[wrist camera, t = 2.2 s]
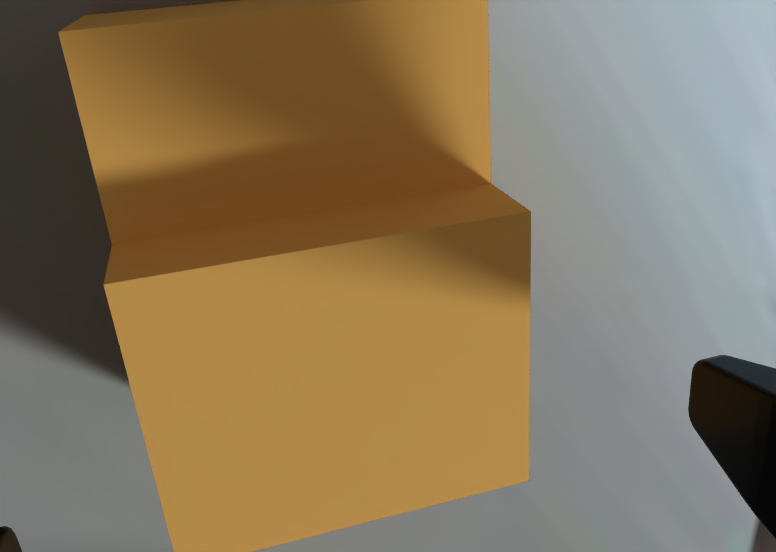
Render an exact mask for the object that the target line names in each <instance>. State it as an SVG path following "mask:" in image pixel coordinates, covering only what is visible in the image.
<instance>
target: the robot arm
mask: <svg viewBox="0 0 776 552" xmlns="http://www.w3.org/2000/svg"><path fill="white" fill-rule="evenodd" d="M688 411H689V417H690V421H691V423H692V425H693V427H694V429H695V430H696V432H697V433H698V434H699V436H700V437H701V439H702V440H703V442H704V443H705V444H706V446H707V447H708V449H709V450H710V452H711V453H712V454H713V456H714V457H715V459H716V460H717V462H718V463H719V464H720V466H721V467H722V469H723V470H724V472H725V473H726V474H727V476H728V477H729V479H730V480H731V482H732V483H733V484H734V486H735V487H736V489H737V490H738V492H739V493H740V495H741V496H742V497H743V499H744V500H745V502H746V503H747V504H748V506H749V507H750V508H751V510H752V511H753V512H754V514H755V515H756V516H757V517H758V519H759V520H760V521H761V522H762V524H763V525H764V526H765V527H766V529H767V530H768V531H769V532H770V533H771V534H772V536H773V537H774V538H775V539H776V369H775V368H772V367H768V366H764V365H761V364H757V363H753V362H749V361H746V360H742V359H738V358H734V357H731V356H727V355H719V356H715V357H711V358H706V359H702V360H699V361H698V362H696V363H695V365H694V367H693V370H692V377H691V387H690V397H689V408H688ZM0 552H22V550H21V547H20V544H19V542H18V539H17V537H16V535H15V533H14V532H13V530H12V529H11V528H9V527H6V526H3V527H0Z"/></svg>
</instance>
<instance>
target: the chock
mask: <svg viewBox="0 0 776 552" xmlns="http://www.w3.org/2000/svg"><path fill="white" fill-rule="evenodd" d="M58 33H59V37H60V41H61V45H62V49H63V53H64V57H65V61H66V65H67V69H68V73H69V77H70V81H71V85H72V89H73V93H74V97H75V101H76V105H77V108H78V112H79V116H80V120H81V124H82V128H83V132H84V136H85V140H86V144H87V148H88V152H89V156H90V160H91V164H92V168H93V172H94V176H95V180H96V184H97V188H98V192H99V196H100V200H101V203H102V207H103V211H104V215H105V219H106V223H107V227H108V231H109V235H110V239H111V243H112V246H111V251H110V256H109V261H108V265H107V270H106V275H105V280H104V284H103V285H104V289H105V292H106V296H107V300H108V304H109V308H110V311H111V315H112V319H113V323H114V326H115V330H116V334H117V338H118V342H119V345H120V349H121V353H122V357H123V360H124V364H125V368H126V372H127V376H128V379H129V383H130V387H131V391H132V395H133V398H134V402H135V406H136V410H137V413H138V417H139V421H140V425H141V429H142V432H143V436H144V440H145V444H146V447H147V451H148V455H149V459H150V463H151V466H152V470H153V474H154V478H155V482H156V485H157V489H158V493H159V497H160V500H161V504H162V508H163V512H164V516H165V519H166V523H167V527H168V531H169V534H170V538H171V542H172V546H173V550H174V552H253V551H257V550H260V549H264V548H268V547H272V546H276V545H280V544H284V543H288V542H292V541H296V540H299V539H303V538H307V537H311V536H315V535H319V534H323V533H327V532H331V531H335V530H339V529H342V528H346V527H350V526H354V525H358V524H362V523H366V522H370V521H374V520H378V519H381V518H385V517H389V516H393V515H397V514H401V513H405V512H409V511H413V510H417V509H421V508H424V507H428V506H432V505H436V504H440V503H444V502H448V501H452V500H456V499H460V498H464V497H467V496H471V495H475V494H479V493H483V492H487V491H491V490H495V489H499V488H503V487H506V486H510V485H514V484H518V483H522V482H526V481H529V424H530V262H531V211H530V210H528V209H527V208H525V207H524V206H522V205H521V204H520V203H518V202H517V201H515V200H514V199H512V198H511V197H510V196H508V195H507V194H505V193H504V192H502V191H501V190H499V189H498V188H497V187H495V186H494V185H492V184H491V157H490V100H489V43H488V0H236V1H226V2H216V3H205V4H195V5H185V6H174V7H164V8H153V9H143V10H133V11H122V12H112V13H101V14H91V15H84V16H83V17H81V18H79V19H78V20H76V21H75V22H73V23H71V24H70V25H68V26H67V27H65V28H63V29H62V30H60V31H59V32H58Z"/></svg>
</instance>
